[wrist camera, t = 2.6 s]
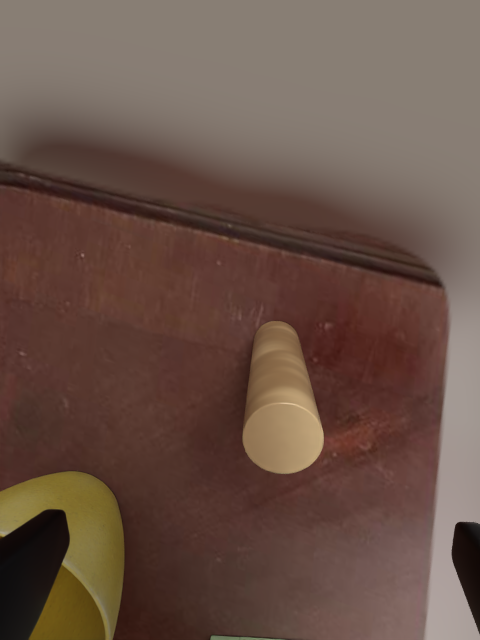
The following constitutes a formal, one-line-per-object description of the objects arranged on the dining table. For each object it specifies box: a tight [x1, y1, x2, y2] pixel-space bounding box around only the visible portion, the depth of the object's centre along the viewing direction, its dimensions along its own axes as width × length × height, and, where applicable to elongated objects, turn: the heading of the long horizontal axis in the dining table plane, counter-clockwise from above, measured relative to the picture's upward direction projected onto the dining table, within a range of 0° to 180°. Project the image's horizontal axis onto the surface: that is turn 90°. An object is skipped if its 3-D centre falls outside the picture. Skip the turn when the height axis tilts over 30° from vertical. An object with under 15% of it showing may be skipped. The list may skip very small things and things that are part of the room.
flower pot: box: [0, 471, 124, 640], centre depth 20 cm, size 10×10×7 cm
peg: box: [242, 321, 324, 474], centre depth 15 cm, size 2×2×9 cm
